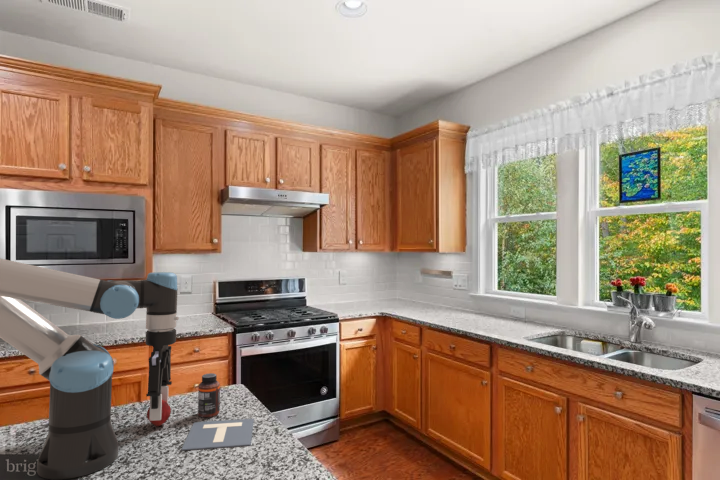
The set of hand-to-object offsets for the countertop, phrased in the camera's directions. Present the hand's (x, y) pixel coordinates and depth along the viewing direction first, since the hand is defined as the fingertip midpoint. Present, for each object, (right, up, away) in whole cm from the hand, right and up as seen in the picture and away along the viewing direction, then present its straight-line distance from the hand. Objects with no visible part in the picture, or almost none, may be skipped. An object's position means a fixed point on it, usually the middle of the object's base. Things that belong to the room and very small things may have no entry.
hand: (158, 414), depth 115 cm
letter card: (+18, -3, -5) cm, 19 cm away
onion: (0, -3, 0) cm, 3 cm away
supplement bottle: (+11, -4, +8) cm, 14 cm away
